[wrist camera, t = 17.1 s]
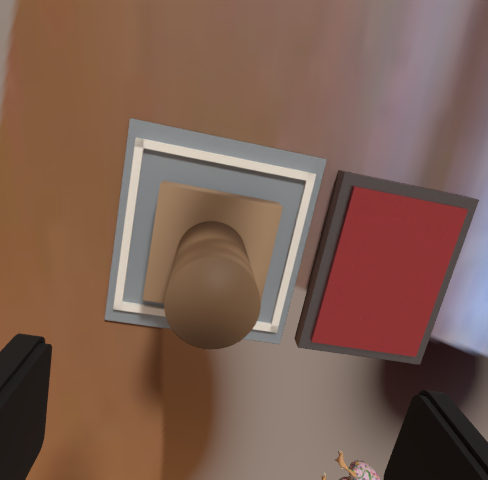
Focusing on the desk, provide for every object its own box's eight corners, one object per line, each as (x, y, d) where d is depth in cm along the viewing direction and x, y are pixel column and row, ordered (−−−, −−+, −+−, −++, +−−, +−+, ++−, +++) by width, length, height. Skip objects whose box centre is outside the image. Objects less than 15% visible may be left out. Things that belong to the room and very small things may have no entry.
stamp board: (325, 159, 25) (328, 159, 25) (279, 342, 28) (280, 346, 28) (130, 118, 23) (129, 117, 23) (105, 318, 27) (103, 321, 26)
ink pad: (467, 196, 26) (482, 200, 25) (411, 355, 30) (422, 366, 28) (338, 170, 25) (346, 172, 24) (294, 338, 28) (299, 349, 27)
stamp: (276, 199, 25) (314, 240, 16) (253, 300, 27) (275, 388, 18) (164, 178, 24) (139, 209, 15) (148, 284, 26) (116, 368, 17)
